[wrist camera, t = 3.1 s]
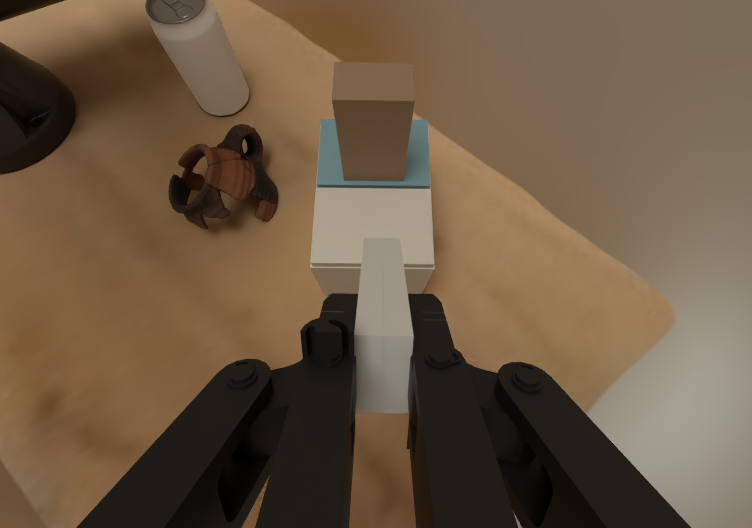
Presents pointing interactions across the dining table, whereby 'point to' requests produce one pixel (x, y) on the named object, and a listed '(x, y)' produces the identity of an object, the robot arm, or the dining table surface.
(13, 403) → the dining table surface
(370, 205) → the carton
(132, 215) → the dining table surface
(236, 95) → the can
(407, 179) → the flap
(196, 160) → the pottery mug
